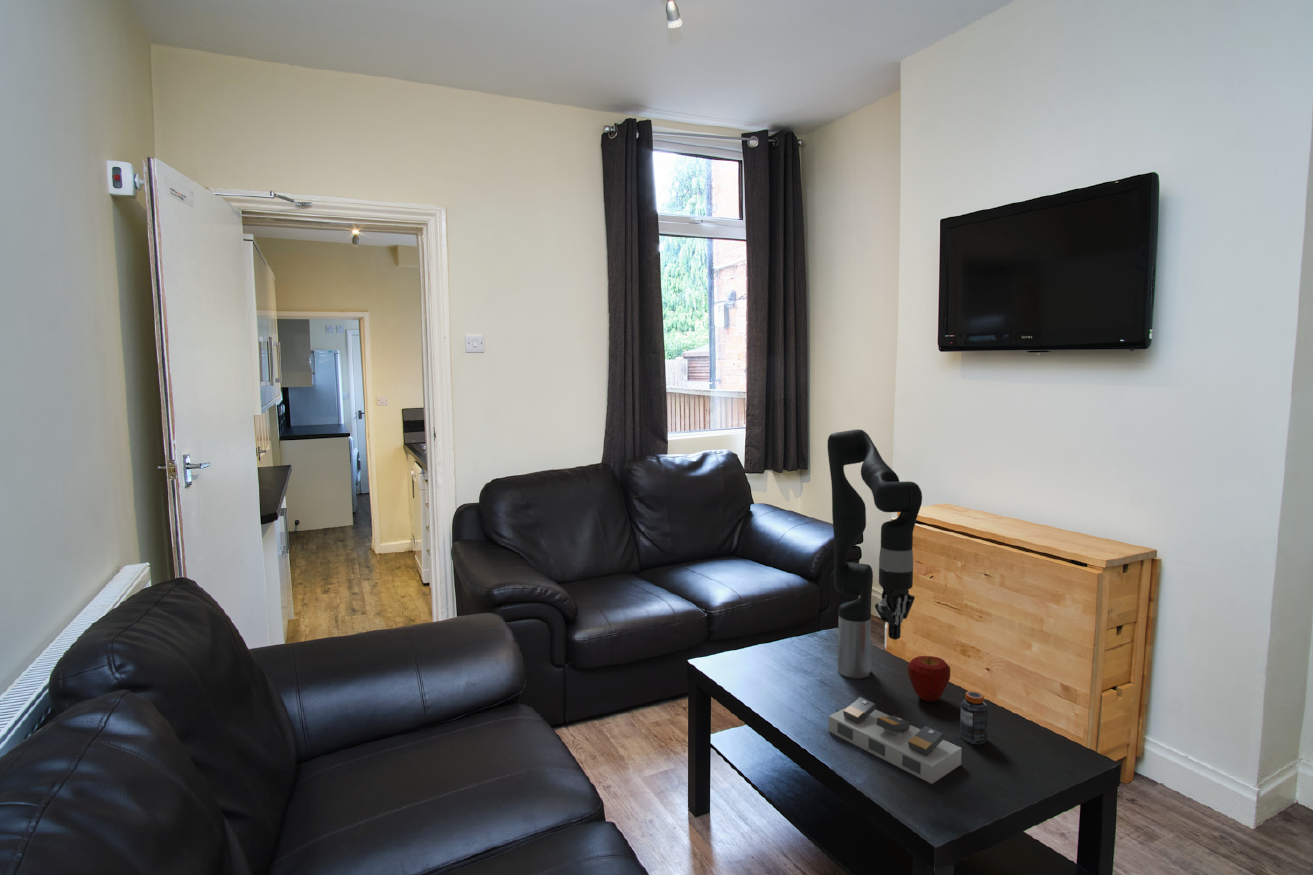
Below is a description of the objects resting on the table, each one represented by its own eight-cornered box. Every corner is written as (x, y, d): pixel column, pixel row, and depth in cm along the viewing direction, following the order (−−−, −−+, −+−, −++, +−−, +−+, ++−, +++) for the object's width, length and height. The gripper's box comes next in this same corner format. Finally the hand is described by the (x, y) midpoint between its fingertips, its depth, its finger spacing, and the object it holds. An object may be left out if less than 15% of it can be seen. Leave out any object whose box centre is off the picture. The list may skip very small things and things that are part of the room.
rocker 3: (925, 731, 159) (925, 724, 159) (943, 739, 156) (942, 732, 156) (909, 747, 156) (908, 741, 155) (926, 756, 152) (925, 749, 152)
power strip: (851, 713, 180) (852, 696, 179) (961, 764, 156) (961, 745, 156) (821, 728, 172) (822, 711, 172) (931, 784, 149) (932, 764, 148)
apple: (927, 686, 194) (928, 645, 193) (958, 703, 185) (960, 660, 184) (898, 694, 190) (899, 653, 189) (928, 712, 180) (930, 668, 179)
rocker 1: (860, 702, 174) (860, 696, 173) (875, 709, 170) (874, 702, 170) (843, 716, 170) (843, 710, 169) (858, 723, 166) (857, 717, 166)
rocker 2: (892, 721, 167) (894, 714, 167) (909, 729, 164) (910, 721, 164) (876, 724, 163) (877, 717, 163) (892, 732, 159) (893, 724, 159)
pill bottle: (985, 734, 169) (986, 690, 168) (988, 746, 163) (990, 701, 162) (958, 730, 171) (960, 687, 170) (961, 742, 165) (962, 697, 164)
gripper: (898, 558, 166) (896, 627, 168) (865, 567, 158) (863, 640, 160) (926, 564, 160) (924, 636, 162) (893, 575, 152) (891, 650, 154)
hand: (894, 638), depth 161 cm, fingers closed
